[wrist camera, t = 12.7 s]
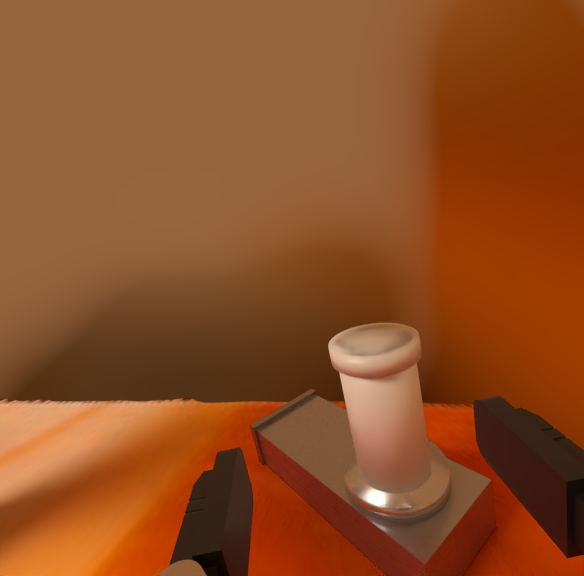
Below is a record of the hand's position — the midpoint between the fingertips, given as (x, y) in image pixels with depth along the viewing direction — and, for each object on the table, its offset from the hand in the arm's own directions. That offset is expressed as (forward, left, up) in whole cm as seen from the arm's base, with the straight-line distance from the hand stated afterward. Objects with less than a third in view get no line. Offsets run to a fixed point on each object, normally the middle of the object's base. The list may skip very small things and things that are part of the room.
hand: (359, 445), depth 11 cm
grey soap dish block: (-13, +9, -16) cm, 23 cm away
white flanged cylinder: (-8, +9, -11) cm, 16 cm away
